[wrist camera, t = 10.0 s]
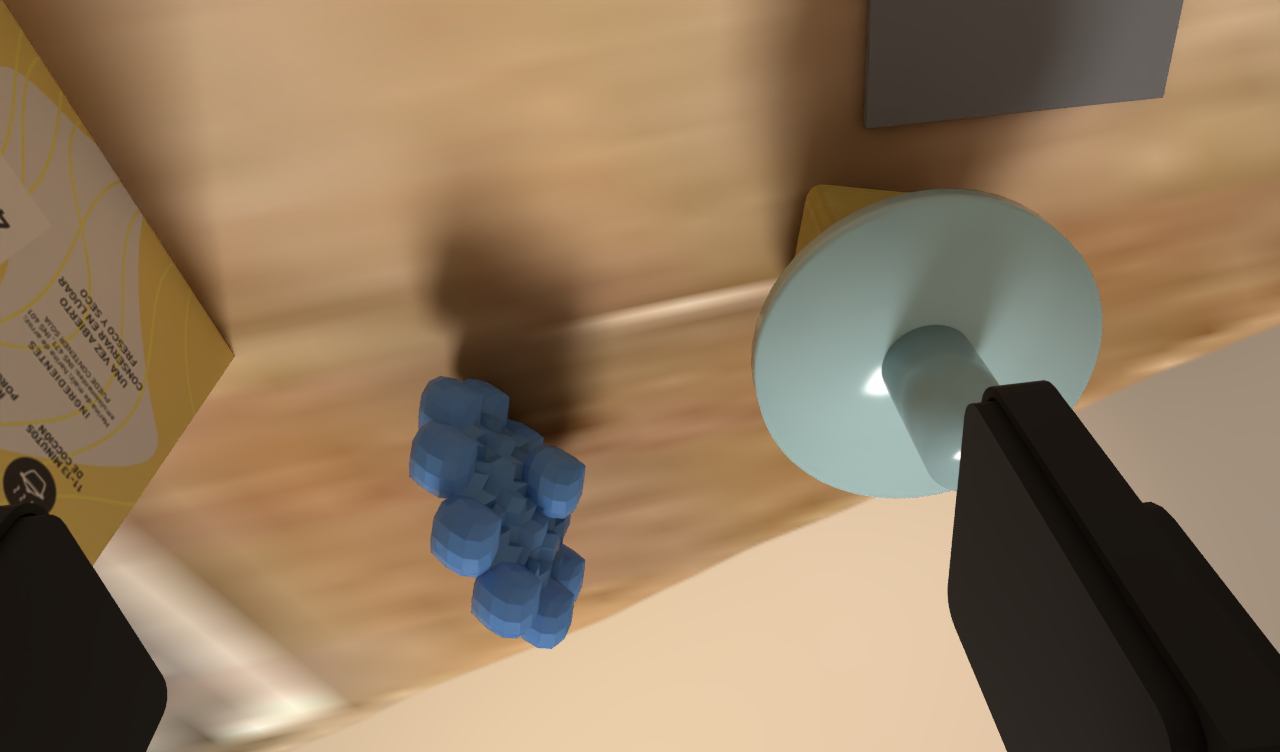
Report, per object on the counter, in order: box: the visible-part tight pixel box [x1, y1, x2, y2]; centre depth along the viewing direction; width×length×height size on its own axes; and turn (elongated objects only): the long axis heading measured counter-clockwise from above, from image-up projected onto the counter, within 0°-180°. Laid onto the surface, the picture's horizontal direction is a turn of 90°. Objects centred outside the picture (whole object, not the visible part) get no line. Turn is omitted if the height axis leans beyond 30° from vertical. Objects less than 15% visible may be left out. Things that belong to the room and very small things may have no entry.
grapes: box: [409, 376, 585, 649], centre depth 39 cm, size 12×7×12 cm, turn 29°
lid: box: [751, 188, 1102, 498], centre depth 30 cm, size 12×12×6 cm
